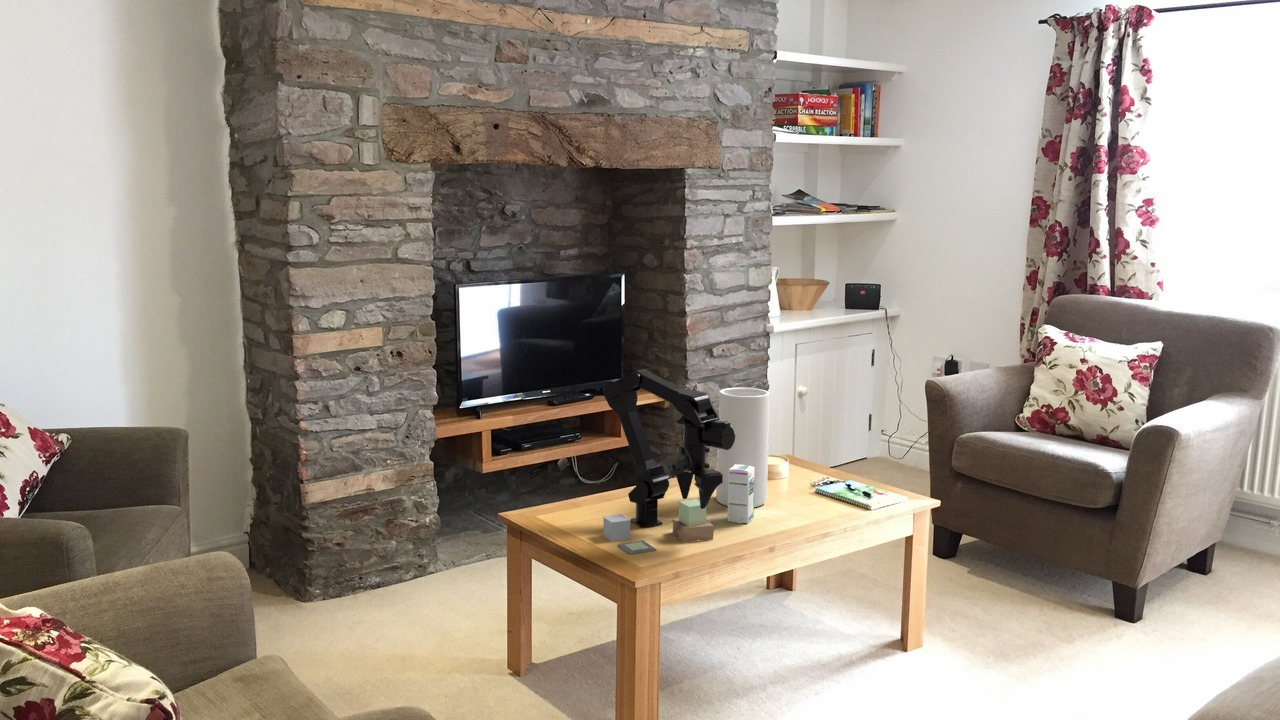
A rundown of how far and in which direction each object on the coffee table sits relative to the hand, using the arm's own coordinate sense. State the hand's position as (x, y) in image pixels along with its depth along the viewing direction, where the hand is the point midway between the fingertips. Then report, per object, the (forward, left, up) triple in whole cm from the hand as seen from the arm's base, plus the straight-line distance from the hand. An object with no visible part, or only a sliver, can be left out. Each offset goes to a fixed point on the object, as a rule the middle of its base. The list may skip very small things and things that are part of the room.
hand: (693, 503), depth 260 cm
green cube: (0, 0, -5) cm, 5 cm away
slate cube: (-7, -18, -9) cm, 21 cm away
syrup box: (-6, +18, -9) cm, 21 cm away
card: (+2, -17, -9) cm, 19 cm away
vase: (-20, +27, -9) cm, 35 cm away
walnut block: (0, 0, -9) cm, 9 cm away
